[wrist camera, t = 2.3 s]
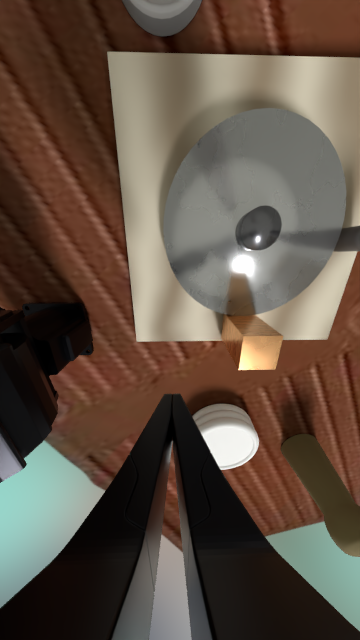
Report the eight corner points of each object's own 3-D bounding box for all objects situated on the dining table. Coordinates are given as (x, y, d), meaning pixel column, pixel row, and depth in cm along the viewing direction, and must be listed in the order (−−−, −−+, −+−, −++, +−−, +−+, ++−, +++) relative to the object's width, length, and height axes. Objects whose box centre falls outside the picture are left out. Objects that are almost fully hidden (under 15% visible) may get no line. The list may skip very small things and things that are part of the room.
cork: (302, 428, 27) (380, 533, 17) (324, 444, 29) (407, 549, 18) (273, 448, 29) (327, 556, 18) (295, 462, 30) (357, 569, 20)
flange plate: (160, 119, 13) (149, 18, 7) (359, 122, 13) (490, 28, 8) (167, 338, 19) (164, 370, 14) (300, 336, 19) (347, 368, 14)
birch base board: (139, 335, 21) (124, 369, 15) (114, 73, 13) (60, -88, 7) (317, 333, 21) (373, 365, 15) (397, 79, 13) (581, -67, 7)
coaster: (175, 417, 26) (174, 441, 23) (234, 391, 24) (244, 412, 21) (204, 454, 29) (208, 479, 26) (259, 432, 28) (270, 456, 24)
